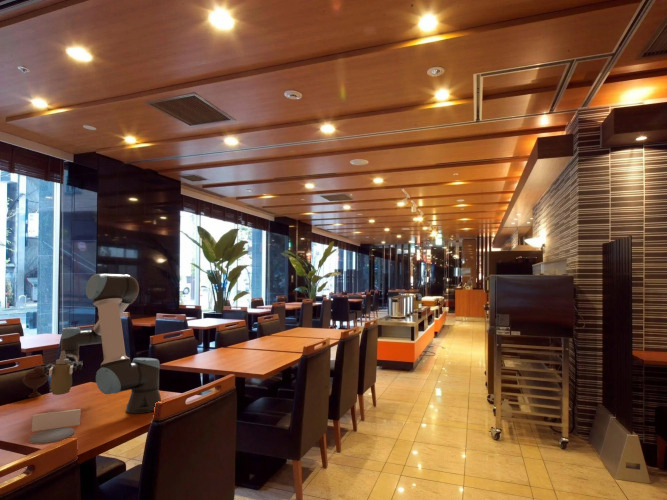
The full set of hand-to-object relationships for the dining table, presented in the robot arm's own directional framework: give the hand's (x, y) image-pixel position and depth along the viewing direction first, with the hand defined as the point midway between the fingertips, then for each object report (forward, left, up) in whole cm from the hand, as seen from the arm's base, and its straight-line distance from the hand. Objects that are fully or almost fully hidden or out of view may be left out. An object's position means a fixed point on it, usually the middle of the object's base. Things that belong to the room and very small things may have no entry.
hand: (60, 371), depth 168 cm
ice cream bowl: (+53, -21, -21) cm, 61 cm away
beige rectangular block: (-5, +3, -21) cm, 22 cm away
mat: (-13, +10, -21) cm, 27 cm away
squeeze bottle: (+4, -3, -10) cm, 11 cm away
